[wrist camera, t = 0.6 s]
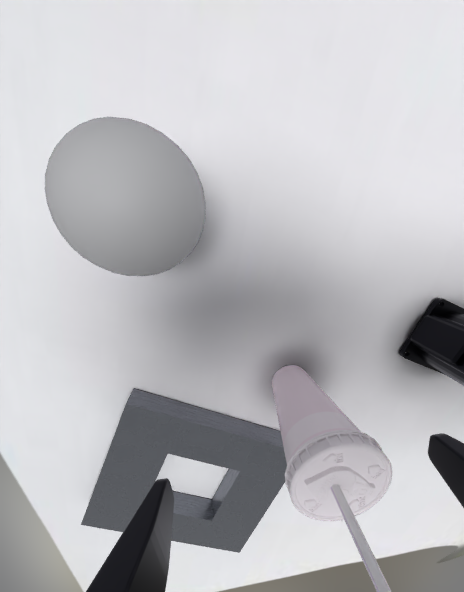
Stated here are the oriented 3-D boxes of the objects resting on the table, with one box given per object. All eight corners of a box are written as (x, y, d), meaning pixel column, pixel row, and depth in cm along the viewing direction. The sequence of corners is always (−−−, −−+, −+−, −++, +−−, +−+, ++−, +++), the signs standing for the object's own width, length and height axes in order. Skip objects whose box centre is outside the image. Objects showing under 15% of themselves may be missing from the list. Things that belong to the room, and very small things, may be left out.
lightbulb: (186, 270, 19) (150, 321, 8) (116, 231, 17) (-36, 231, 7) (223, 203, 17) (237, 160, 7) (150, 155, 16) (30, 13, 6)
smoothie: (269, 347, 21) (362, 545, 8) (330, 359, 22) (507, 556, 9) (250, 402, 23) (302, 644, 9) (308, 411, 24) (430, 645, 10)
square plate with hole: (296, 435, 25) (303, 453, 23) (237, 530, 28) (239, 552, 26) (133, 388, 21) (126, 403, 19) (91, 502, 25) (80, 524, 23)
